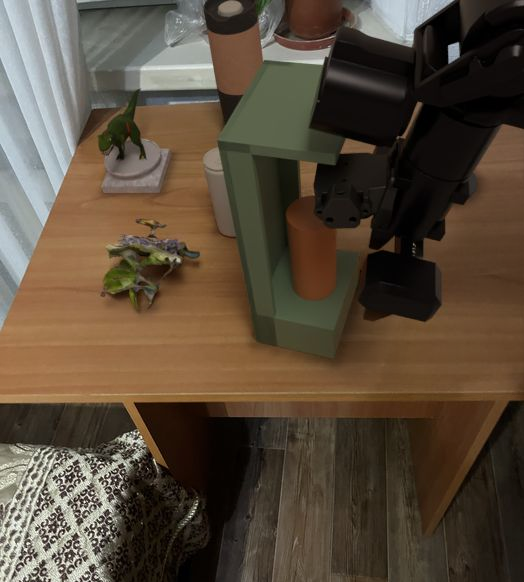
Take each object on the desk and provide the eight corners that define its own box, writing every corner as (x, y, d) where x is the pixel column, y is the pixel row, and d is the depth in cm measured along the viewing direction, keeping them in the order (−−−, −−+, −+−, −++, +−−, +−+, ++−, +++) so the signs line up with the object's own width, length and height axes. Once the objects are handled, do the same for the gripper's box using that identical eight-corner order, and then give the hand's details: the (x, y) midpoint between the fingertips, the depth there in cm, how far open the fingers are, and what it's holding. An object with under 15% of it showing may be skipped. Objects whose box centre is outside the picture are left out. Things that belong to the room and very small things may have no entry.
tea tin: (336, 266, 67) (337, 194, 57) (336, 300, 64) (337, 230, 55) (293, 267, 67) (287, 196, 58) (291, 300, 64) (284, 231, 55)
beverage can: (255, 218, 81) (244, 148, 71) (244, 241, 79) (231, 172, 69) (224, 213, 83) (210, 143, 73) (213, 236, 80) (196, 167, 70)
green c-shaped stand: (357, 284, 72) (370, 68, 48) (333, 359, 66) (335, 154, 42) (285, 271, 75) (264, 59, 51) (256, 341, 69) (216, 139, 45)
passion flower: (174, 290, 82) (209, 232, 75) (159, 341, 75) (197, 283, 67) (102, 256, 79) (131, 191, 71) (78, 306, 71) (108, 240, 63)
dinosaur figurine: (97, 209, 86) (68, 144, 76) (128, 130, 97) (106, 64, 87) (154, 209, 85) (132, 143, 75) (179, 128, 96) (162, 62, 86)
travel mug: (257, 111, 96) (242, -16, 80) (277, 133, 92) (266, 4, 75) (217, 126, 95) (194, 0, 78) (236, 150, 91) (215, 22, 74)
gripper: (346, 60, 46) (303, 198, 60) (323, 215, 36) (277, 340, 50) (472, 93, 47) (403, 223, 60) (484, 255, 37) (397, 368, 50)
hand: (370, 282), depth 55 cm, fingers open, 9 cm apart
